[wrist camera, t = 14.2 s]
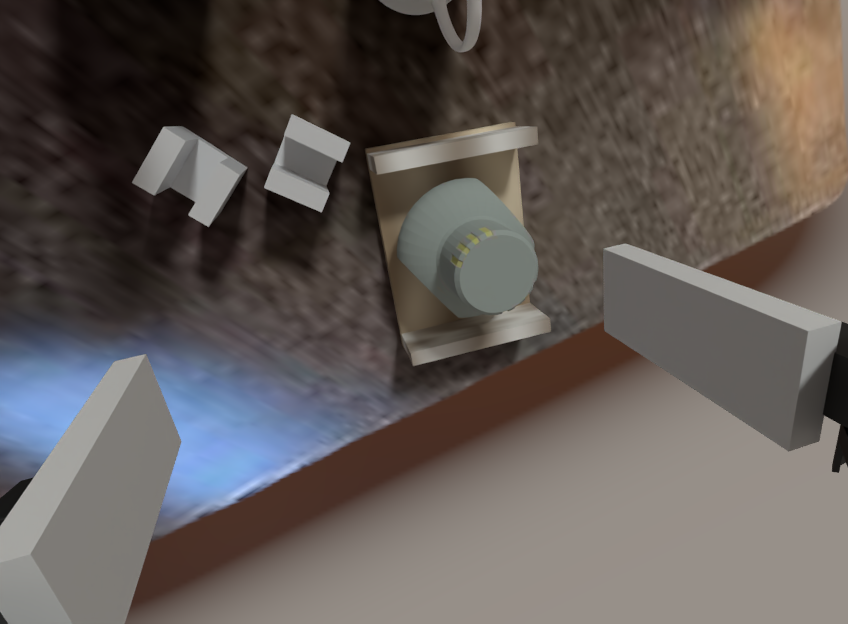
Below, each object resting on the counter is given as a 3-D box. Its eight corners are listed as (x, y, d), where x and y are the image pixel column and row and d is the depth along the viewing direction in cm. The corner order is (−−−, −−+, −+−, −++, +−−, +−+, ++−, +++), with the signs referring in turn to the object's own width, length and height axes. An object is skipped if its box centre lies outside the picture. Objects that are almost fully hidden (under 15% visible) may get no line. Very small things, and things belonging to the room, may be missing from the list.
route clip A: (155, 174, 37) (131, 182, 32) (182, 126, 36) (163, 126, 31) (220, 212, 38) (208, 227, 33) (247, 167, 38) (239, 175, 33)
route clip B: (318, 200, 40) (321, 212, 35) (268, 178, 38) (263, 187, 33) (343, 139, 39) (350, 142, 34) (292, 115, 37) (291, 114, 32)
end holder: (402, 344, 46) (413, 369, 41) (364, 148, 39) (373, 152, 35) (526, 314, 48) (550, 334, 43) (510, 122, 41) (536, 122, 37)
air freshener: (374, 232, 41) (396, 264, 32) (448, 156, 40) (492, 167, 31) (461, 317, 45) (503, 367, 36) (529, 250, 44) (590, 284, 35)
